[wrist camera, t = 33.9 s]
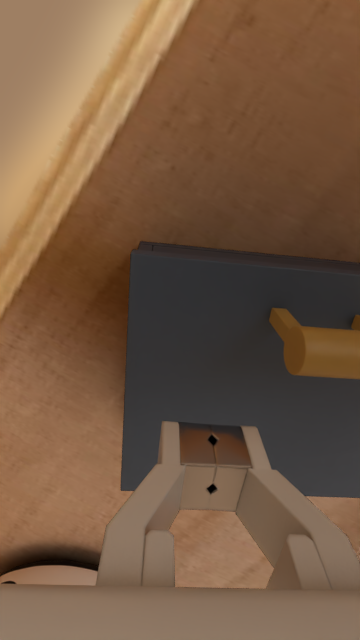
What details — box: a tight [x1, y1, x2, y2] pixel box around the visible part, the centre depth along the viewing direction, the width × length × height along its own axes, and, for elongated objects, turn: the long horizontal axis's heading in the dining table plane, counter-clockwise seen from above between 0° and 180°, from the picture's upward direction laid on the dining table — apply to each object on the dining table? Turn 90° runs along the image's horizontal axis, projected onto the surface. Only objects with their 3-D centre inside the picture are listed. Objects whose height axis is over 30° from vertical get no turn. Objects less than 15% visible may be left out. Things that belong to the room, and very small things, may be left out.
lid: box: [121, 249, 360, 498], centre depth 15 cm, size 14×18×5 cm
